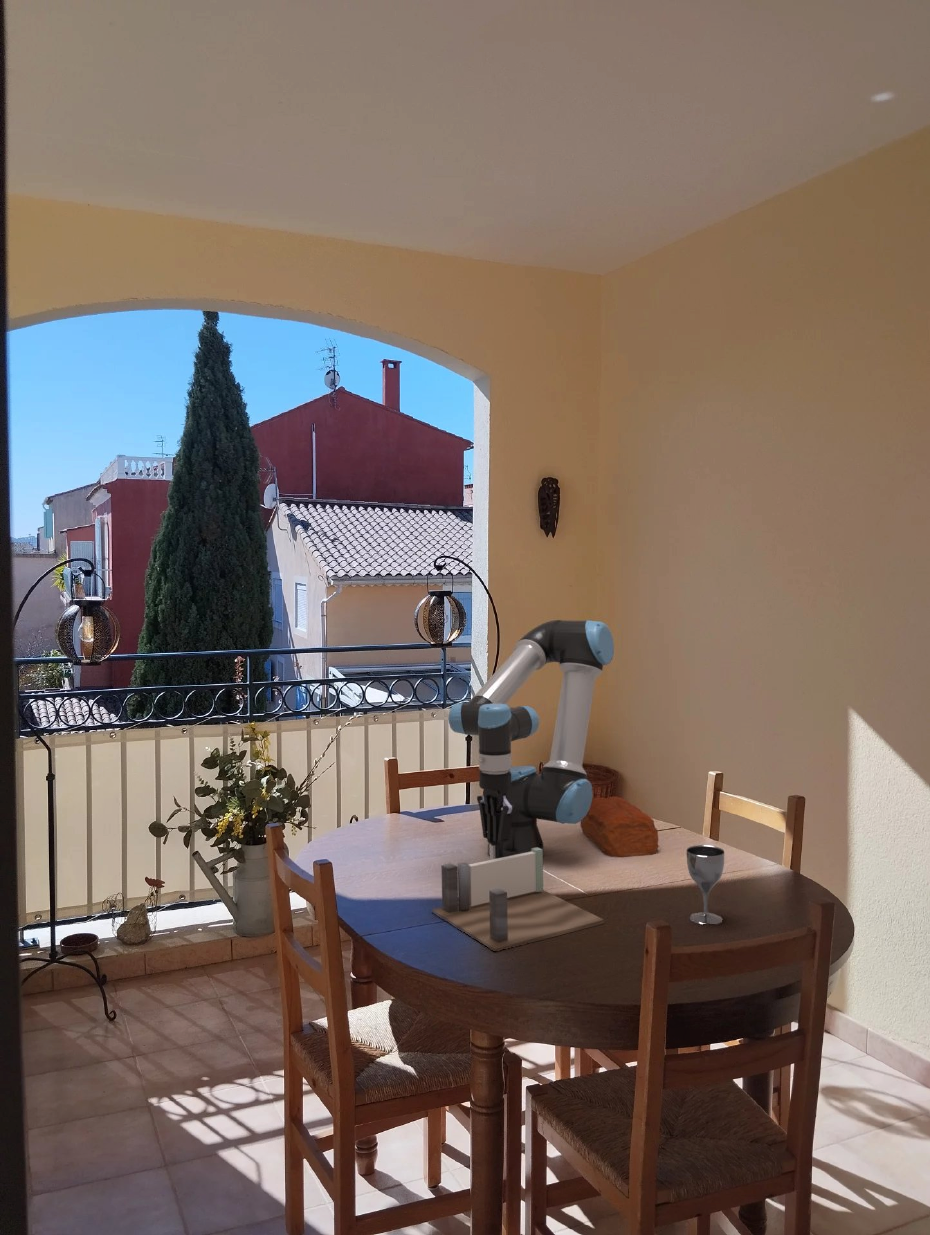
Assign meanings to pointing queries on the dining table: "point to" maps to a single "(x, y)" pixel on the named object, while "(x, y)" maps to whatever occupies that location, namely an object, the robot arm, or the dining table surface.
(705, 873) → the wine glass
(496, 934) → the gate frame
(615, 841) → the bread
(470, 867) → the gate
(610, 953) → the dining table surface
